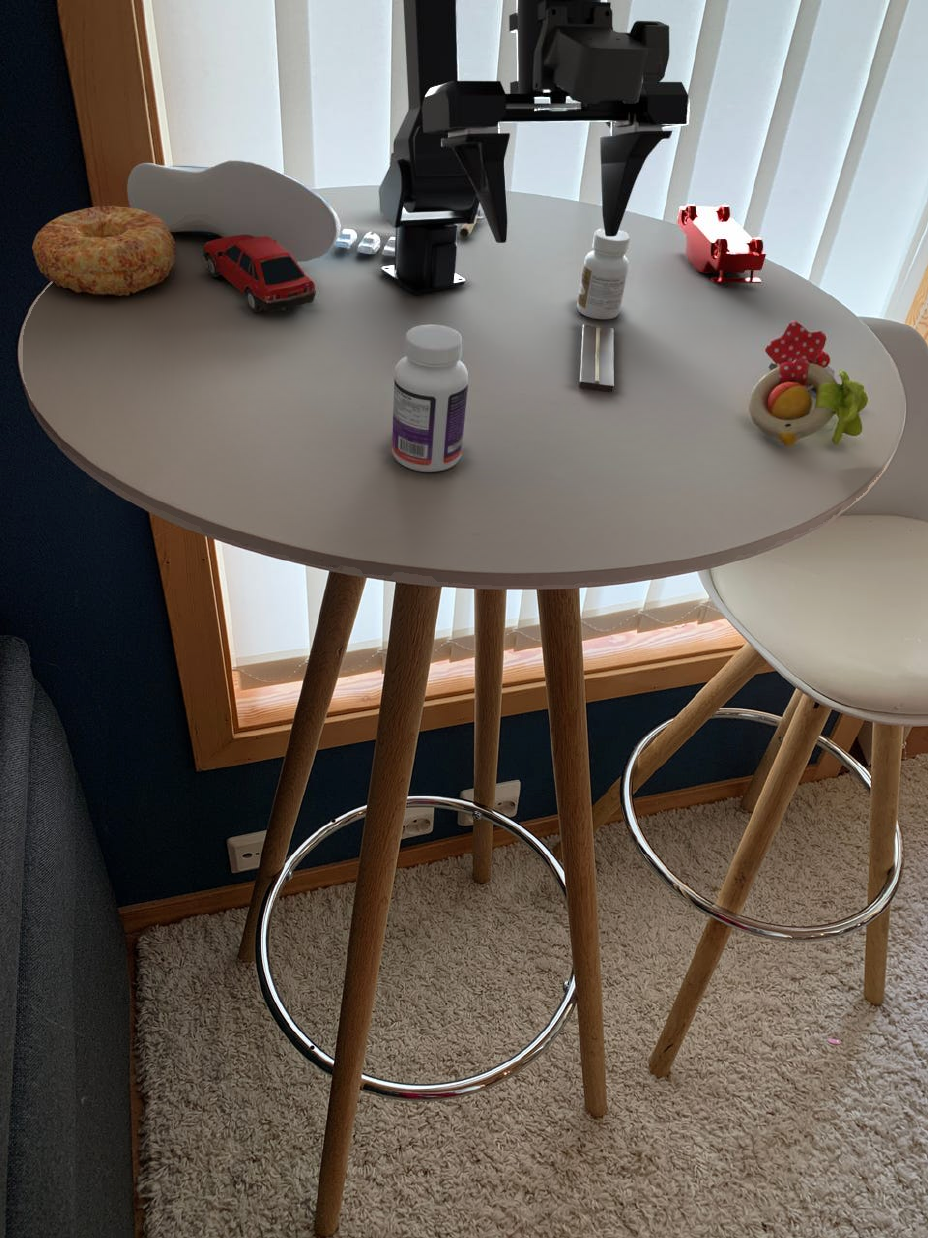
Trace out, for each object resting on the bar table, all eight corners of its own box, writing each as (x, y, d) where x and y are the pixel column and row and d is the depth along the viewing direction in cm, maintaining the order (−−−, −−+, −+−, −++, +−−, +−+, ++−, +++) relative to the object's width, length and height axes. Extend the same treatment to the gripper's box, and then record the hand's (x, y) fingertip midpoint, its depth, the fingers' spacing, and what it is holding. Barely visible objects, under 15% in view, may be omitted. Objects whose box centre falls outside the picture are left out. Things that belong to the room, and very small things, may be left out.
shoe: (329, 176, 90) (378, 168, 100) (120, 139, 95) (186, 134, 105) (326, 274, 95) (372, 257, 105) (126, 234, 100) (189, 221, 109)
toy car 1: (254, 254, 97) (249, 205, 93) (324, 311, 89) (323, 260, 86) (196, 266, 94) (189, 216, 90) (264, 326, 86) (259, 274, 83)
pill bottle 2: (579, 299, 97) (592, 222, 92) (621, 306, 97) (636, 230, 91) (573, 315, 94) (586, 237, 89) (616, 323, 93) (632, 245, 88)
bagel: (180, 241, 85) (191, 294, 88) (158, 192, 94) (169, 242, 98) (31, 263, 82) (48, 317, 85) (24, 210, 91) (40, 261, 94)
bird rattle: (799, 447, 74) (896, 379, 73) (712, 357, 78) (803, 293, 78) (797, 482, 79) (887, 419, 79) (716, 397, 84) (801, 336, 83)
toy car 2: (723, 245, 99) (711, 290, 102) (772, 246, 100) (758, 290, 103) (680, 197, 109) (670, 240, 112) (724, 198, 110) (713, 240, 113)
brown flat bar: (581, 329, 92) (583, 323, 91) (612, 334, 91) (613, 327, 91) (578, 387, 83) (580, 380, 82) (612, 392, 82) (614, 385, 82)
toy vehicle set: (311, 247, 101) (310, 229, 100) (321, 234, 104) (321, 218, 102) (419, 265, 100) (420, 248, 99) (427, 252, 103) (428, 236, 102)
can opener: (458, 227, 106) (460, 238, 107) (479, 226, 106) (480, 236, 107) (466, 206, 113) (467, 216, 114) (485, 204, 113) (486, 214, 114)
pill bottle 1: (446, 433, 75) (456, 316, 68) (471, 469, 71) (484, 350, 65) (381, 440, 73) (386, 322, 67) (403, 478, 69) (410, 356, 63)
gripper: (478, -43, 53) (485, 250, 60) (747, -29, 60) (727, 235, 66) (413, -5, 63) (425, 244, 69) (651, 4, 69) (642, 232, 75)
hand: (557, 239), depth 70 cm, fingers open, 9 cm apart
